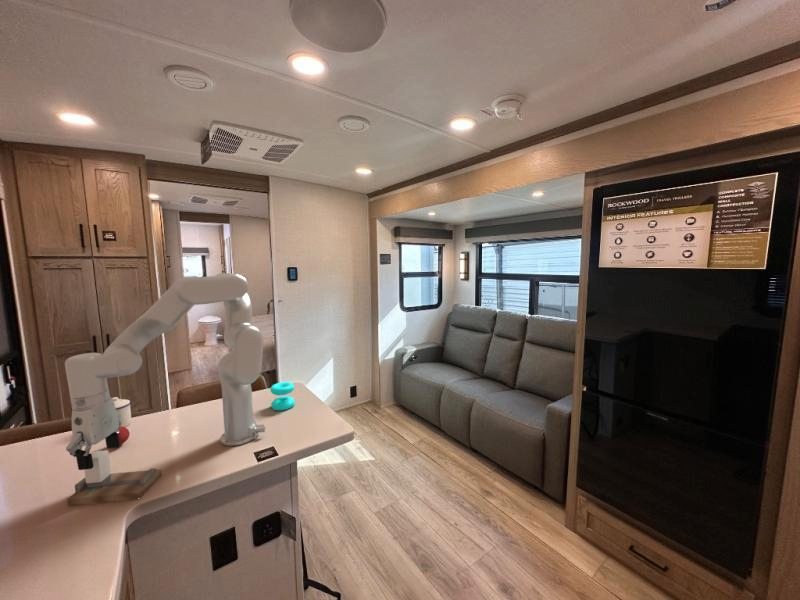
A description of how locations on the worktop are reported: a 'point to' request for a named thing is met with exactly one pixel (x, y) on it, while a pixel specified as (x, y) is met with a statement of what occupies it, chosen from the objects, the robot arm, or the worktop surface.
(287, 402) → the donuts
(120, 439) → the onion
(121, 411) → the teacup with lid
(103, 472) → the fader
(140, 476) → the wooden slider board
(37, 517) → the worktop surface
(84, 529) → the worktop surface
